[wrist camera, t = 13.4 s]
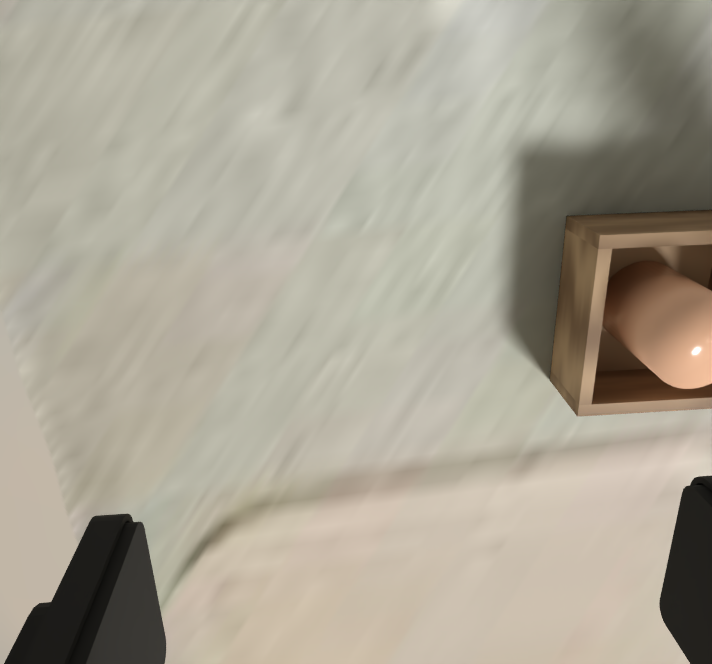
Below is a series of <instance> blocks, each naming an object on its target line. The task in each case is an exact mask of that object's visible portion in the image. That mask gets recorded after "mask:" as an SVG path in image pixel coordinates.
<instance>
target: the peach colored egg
mask: <svg viewBox="0 0 712 664" xmlns="http://www.w3.org/2000/svg"><path fill="white" fill-rule="evenodd" d="M602 325H603V327H604V328H605V329H606V331H607V332H609V333H610V334H611V335H612V336H613V337H614V338H615V339H616V340H617V341H619V342H620V343H621V344H622V345H623V346H624V347H625V348H626V349H628V350H629V351H630V352H631V353H632V354H633V355H634V356H635V357H637V358H638V359H639V360H640V361H641V362H642V363H643V364H644V365H646V366H647V367H648V368H649V369H650V370H651V371H652V372H653V373H655V374H656V375H657V376H658V377H659V378H660V379H661V380H662V381H664V382H665V383H667V384H668V385H671V386H673V387H677V388H683V389H693V388H699V387H704V386H706V385H709V384H711V383H712V291H711V290H709V289H707V288H706V287H704V286H702V285H700V284H699V283H697V282H695V281H693V280H691V279H690V278H688V277H686V276H684V275H682V274H681V273H679V272H677V271H675V270H674V269H672V268H670V267H668V266H666V265H664V264H662V263H659V262H656V261H640V262H636V263H633V264H630V265H628V266H626V267H624V268H622V269H621V270H619V271H618V272H617V273H615V274H614V275H613V276H612V277H611V278H610V279H609V281H608V284H607V292H606V299H605V307H604V314H603V322H602Z"/></svg>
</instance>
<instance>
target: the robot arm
mask: <svg viewBox="0 0 712 664" xmlns="http://www.w3.org/2000/svg"><path fill="white" fill-rule="evenodd" d="M660 611H661V615H662V618H663V621H664V623H665V625H666V626H667V628H668V629H669V631H670V632H671V634H672V636H673V637H674V639H675V640H676V642H677V643H678V645H679V647H680V648H681V650H682V651H683V653H684V654H685V656H686V657H687V659H688V661H689V662H690V664H712V476H701V477H696V478H694V479H693V481H692V482H691V485H690V486H686V487H685V488H684V489H683V492H682V496H681V501H680V506H679V511H678V515H677V520H676V525H675V530H674V535H673V539H672V544H671V549H670V554H669V559H668V563H667V568H666V573H665V578H664V582H663V587H662V592H661V597H660ZM165 657H166V638H165V632H164V627H163V622H162V617H161V612H160V606H159V601H158V596H157V591H156V586H155V580H154V575H153V570H152V565H151V560H150V555H149V549H148V544H147V539H146V534H145V529H144V525H143V523H142V522H133V520H132V517H131V515H130V514H117V515H101V516H94V517H93V518H92V519H91V521H90V522H89V524H88V526H87V529H86V531H85V533H84V535H83V537H82V539H81V541H80V543H79V545H78V548H77V549H76V552H75V554H74V556H73V558H72V560H71V562H70V564H69V566H68V568H67V570H66V573H65V575H64V577H63V579H62V581H61V583H60V585H59V587H58V589H57V591H56V593H55V595H54V598H53V600H52V602H49V603H39V604H38V605H37V606H35V607H34V608H33V610H32V611H31V613H30V615H29V616H28V618H27V620H26V622H25V624H24V626H23V628H22V630H21V632H20V634H19V635H18V638H17V639H16V642H15V643H14V645H13V647H12V649H11V651H10V653H9V655H8V657H7V659H6V661H5V663H4V664H164V663H165Z"/></svg>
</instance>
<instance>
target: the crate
mask: <svg viewBox="0 0 712 664" xmlns="http://www.w3.org/2000/svg"><path fill="white" fill-rule="evenodd" d="M640 261H656V262H659V263H662V264H664V265H666V266H668V267H670V268H672V269H674V270H675V271H677V272H679V273H681V274H682V275H684V276H686V277H688V278H690V279H691V280H693V281H695V282H697V283H699V284H700V285H702V286H704V287H706V288H707V289H709V290H711V291H712V210H695V211H671V212H647V213H624V214H600V215H576V216H567V217H566V227H565V237H564V246H563V256H562V266H561V276H560V285H559V295H558V305H557V315H556V324H555V334H554V344H553V354H552V363H551V373H550V381H551V383H552V384H553V385H554V386H555V388H556V389H557V390H558V392H559V393H560V394H561V396H562V397H563V398H564V399H565V401H566V402H567V403H568V405H569V406H570V407H571V409H572V410H573V411H574V412H575V414H576V415H577V416H593V415H610V414H627V413H644V412H661V411H678V410H695V409H711V408H712V383H711V384H709V385H706V386H704V387H699V388H693V389H683V388H677V387H673V386H671V385H668V384H667V383H665V382H664V381H662V380H661V379H660V378H659V377H658V376H657V375H656V374H655V373H653V372H652V371H651V370H650V369H649V368H648V367H647V366H646V365H644V364H643V363H642V362H641V361H640V360H639V359H638V358H637V357H635V356H634V355H633V354H632V353H631V352H630V351H629V350H628V349H626V348H625V347H624V346H623V345H622V344H621V343H620V342H619V341H617V340H616V339H615V338H614V337H613V336H612V335H611V334H610V333H609V332H607V331H606V329H605V328H604V327H603V325H602V322H603V314H604V307H605V299H606V292H607V284H608V281H609V279H610V278H611V277H612V276H613V275H614V274H615V273H617V272H618V271H619V270H621V269H622V268H624V267H626V266H628V265H630V264H633V263H636V262H640Z"/></svg>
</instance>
